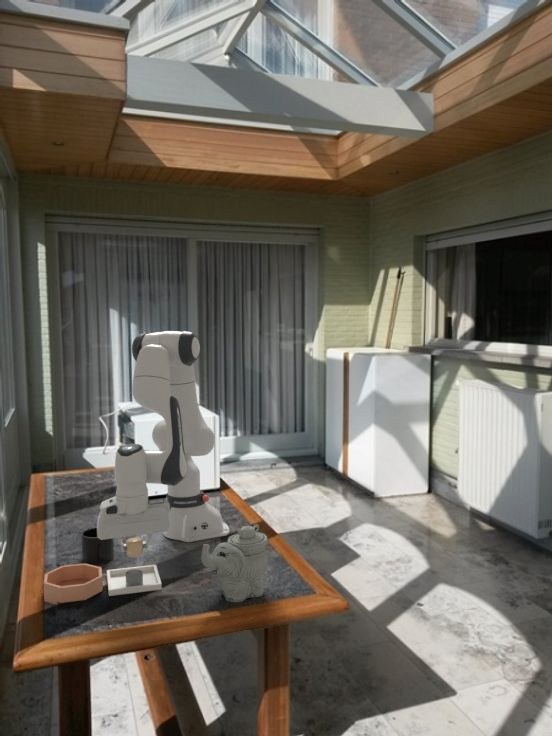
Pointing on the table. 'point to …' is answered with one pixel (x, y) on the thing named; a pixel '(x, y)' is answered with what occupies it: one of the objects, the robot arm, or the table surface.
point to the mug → (96, 548)
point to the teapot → (239, 563)
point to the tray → (118, 586)
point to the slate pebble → (134, 578)
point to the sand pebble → (134, 547)
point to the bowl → (72, 583)
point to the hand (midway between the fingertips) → (134, 549)
